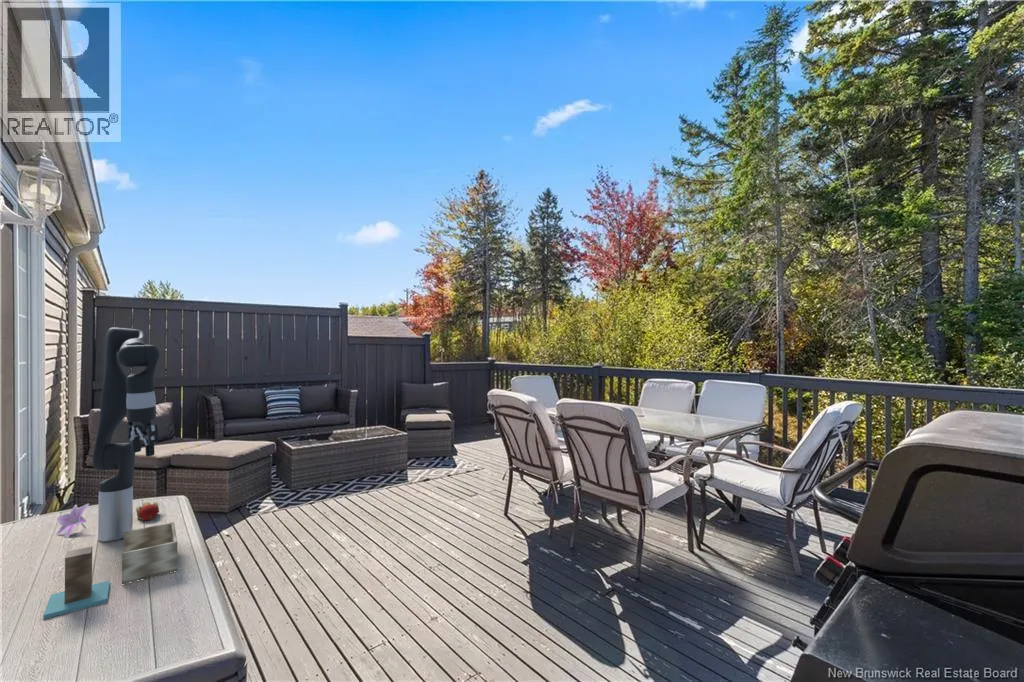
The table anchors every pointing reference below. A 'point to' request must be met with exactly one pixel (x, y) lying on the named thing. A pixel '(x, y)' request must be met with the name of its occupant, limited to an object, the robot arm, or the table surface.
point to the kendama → (147, 511)
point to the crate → (149, 552)
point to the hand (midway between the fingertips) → (143, 453)
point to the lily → (71, 520)
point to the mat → (58, 606)
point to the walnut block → (78, 574)
